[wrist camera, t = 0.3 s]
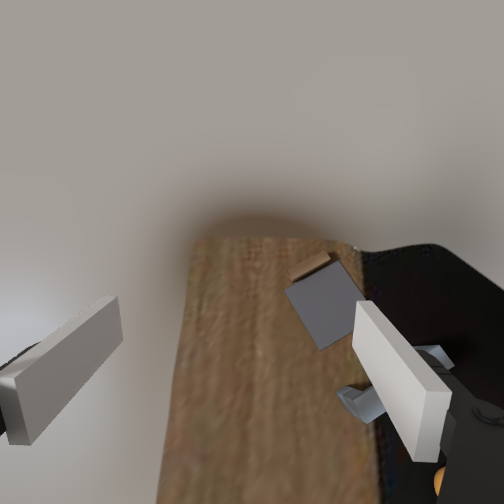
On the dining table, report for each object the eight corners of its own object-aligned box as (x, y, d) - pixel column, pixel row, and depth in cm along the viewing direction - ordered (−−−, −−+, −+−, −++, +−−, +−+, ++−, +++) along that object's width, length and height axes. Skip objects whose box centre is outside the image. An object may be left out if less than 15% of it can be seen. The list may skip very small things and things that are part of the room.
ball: (473, 492, 40) (504, 512, 35) (444, 514, 40) (471, 538, 34) (447, 452, 42) (472, 466, 37) (418, 473, 41) (440, 490, 36)
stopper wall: (327, 262, 53) (330, 258, 51) (291, 282, 52) (293, 279, 50) (321, 254, 54) (324, 249, 51) (286, 273, 52) (287, 270, 50)
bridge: (418, 363, 46) (454, 365, 38) (346, 410, 44) (367, 423, 36) (406, 346, 47) (439, 345, 39) (335, 392, 45) (353, 400, 37)
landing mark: (377, 316, 49) (377, 316, 49) (319, 350, 48) (320, 350, 47) (337, 260, 53) (338, 259, 53) (283, 290, 51) (283, 290, 51)
